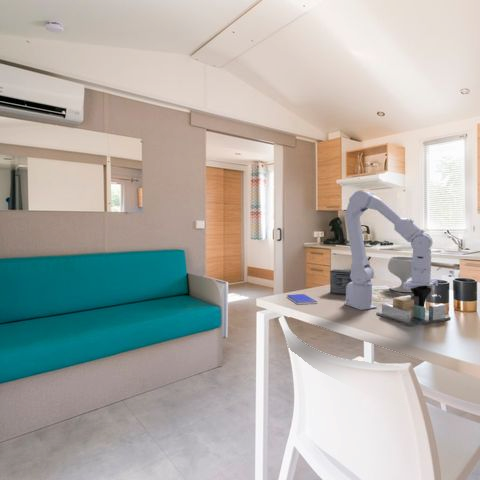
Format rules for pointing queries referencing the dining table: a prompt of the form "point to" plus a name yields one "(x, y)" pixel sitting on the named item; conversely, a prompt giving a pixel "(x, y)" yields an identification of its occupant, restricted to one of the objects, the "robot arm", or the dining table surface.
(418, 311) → the ram
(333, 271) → the small box
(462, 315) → the dining table surface
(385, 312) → the press
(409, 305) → the block
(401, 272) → the chalice
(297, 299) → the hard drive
